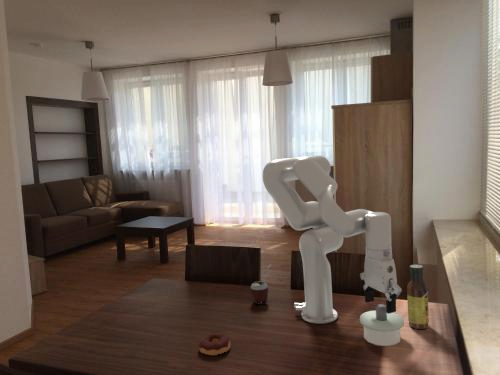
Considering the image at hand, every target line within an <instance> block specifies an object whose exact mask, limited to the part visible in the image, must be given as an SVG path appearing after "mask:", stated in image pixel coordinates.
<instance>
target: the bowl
mask: <svg viewBox="0 0 500 375" xmlns="http://www.w3.org/2000/svg"><path fill="white" fill-rule="evenodd" d="M363 338H364V339H365V340H366V341H367V342H368V343H370V344H372V345H375V346H381V347H388V346H389V347H390V346H395V345H397V344H398V343H400V342H401V328H400V329H398V330H395V331H376V330H371V329H368V328H366V327H364V326H363Z"/></svg>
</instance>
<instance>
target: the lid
mask: <svg viewBox="0 0 500 375" xmlns="http://www.w3.org/2000/svg"><path fill="white" fill-rule="evenodd" d="M359 323H360V324H361V325H362V326H363V328H364V327H366V328H368V329H371V330H376V331H395V330H398V329H400V330H401V329H402V328H403V327H404V326H405V320H404V317H403V316H402V315H400V314H398V313H396V312H393V313H389V314H388V313H387V312H386V304H376V305H375V310H369V311H366V312H363V313H361V314H360V317H359Z"/></svg>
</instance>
